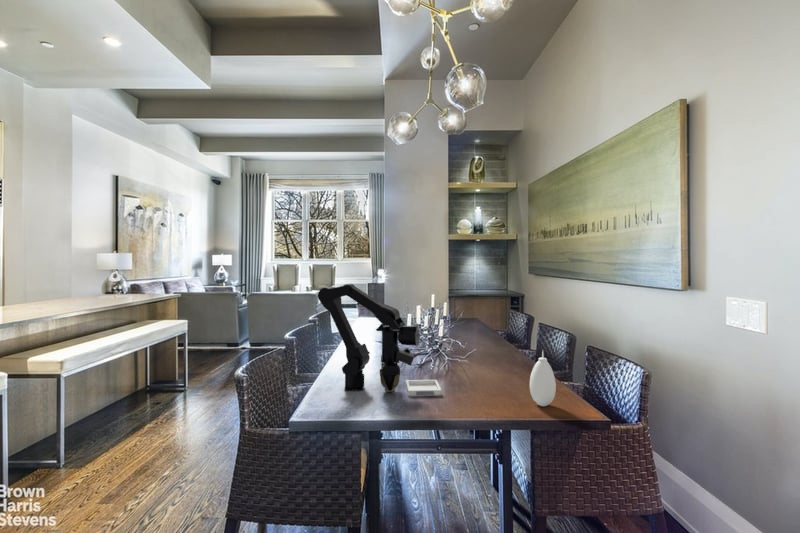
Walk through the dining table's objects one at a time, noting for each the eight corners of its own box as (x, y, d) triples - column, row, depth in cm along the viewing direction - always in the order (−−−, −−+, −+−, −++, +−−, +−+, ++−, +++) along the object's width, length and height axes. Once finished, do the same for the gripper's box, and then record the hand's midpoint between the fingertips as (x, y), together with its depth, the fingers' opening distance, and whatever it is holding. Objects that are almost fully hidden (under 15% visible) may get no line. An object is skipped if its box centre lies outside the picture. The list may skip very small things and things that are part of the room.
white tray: (408, 396, 131) (408, 390, 131) (405, 385, 143) (405, 380, 143) (441, 396, 132) (441, 390, 132) (436, 384, 144) (436, 379, 144)
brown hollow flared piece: (375, 393, 134) (375, 371, 134) (384, 387, 141) (384, 365, 140) (395, 396, 131) (395, 373, 131) (403, 390, 138) (403, 368, 138)
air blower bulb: (525, 401, 127) (526, 347, 127) (548, 400, 128) (549, 347, 128) (535, 410, 120) (536, 353, 119) (559, 409, 120) (560, 352, 120)
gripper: (415, 349, 127) (414, 396, 127) (410, 338, 145) (410, 379, 146) (381, 350, 126) (381, 397, 126) (381, 338, 145) (380, 379, 145)
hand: (389, 387), depth 136 cm, fingers closed on brown hollow flared piece, 6 cm apart
